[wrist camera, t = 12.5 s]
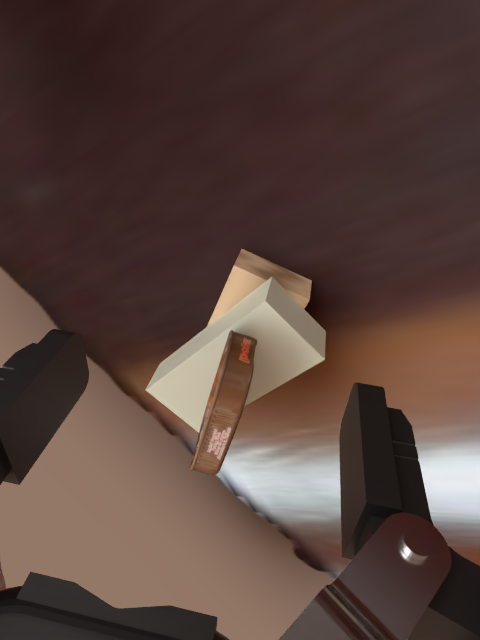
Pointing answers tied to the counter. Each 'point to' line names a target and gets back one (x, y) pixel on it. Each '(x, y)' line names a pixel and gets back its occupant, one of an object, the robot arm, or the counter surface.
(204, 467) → the tin
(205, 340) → the tower top
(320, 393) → the counter surface
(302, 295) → the tower bottom
